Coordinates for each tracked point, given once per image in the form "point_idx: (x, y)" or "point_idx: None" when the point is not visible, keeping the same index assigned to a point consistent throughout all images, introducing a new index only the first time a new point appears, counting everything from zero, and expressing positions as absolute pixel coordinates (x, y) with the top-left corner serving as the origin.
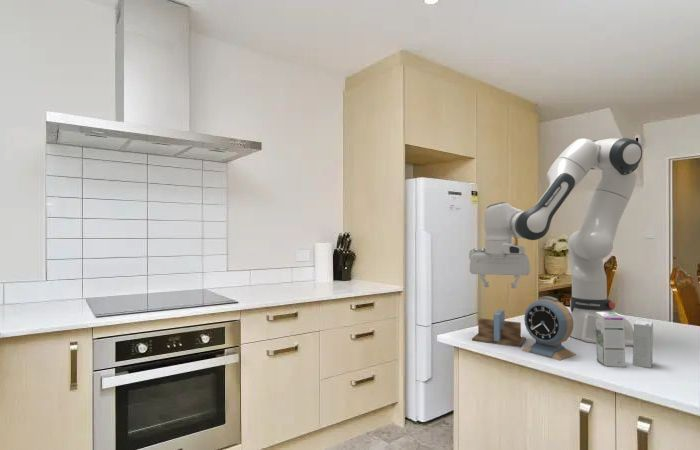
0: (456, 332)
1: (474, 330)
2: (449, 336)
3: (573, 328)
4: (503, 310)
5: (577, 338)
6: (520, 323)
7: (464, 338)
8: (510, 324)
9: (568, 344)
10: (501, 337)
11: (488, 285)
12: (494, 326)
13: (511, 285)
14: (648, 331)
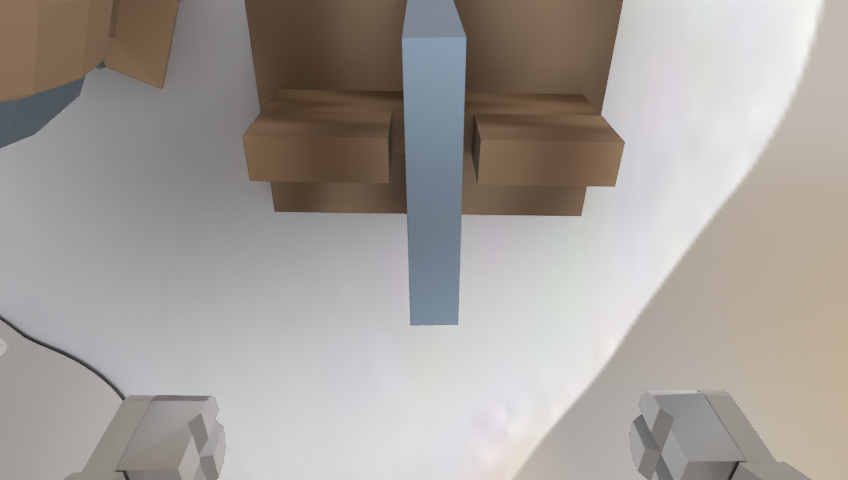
0: (742, 170)
1: (619, 276)
2: (803, 22)
3: (54, 409)
4: (413, 300)
5: (47, 348)
6: (249, 166)
7: (681, 21)
8: (328, 131)
9: (36, 218)
10: None
11: (639, 450)
12: (451, 14)
13: (189, 428)
14: None
